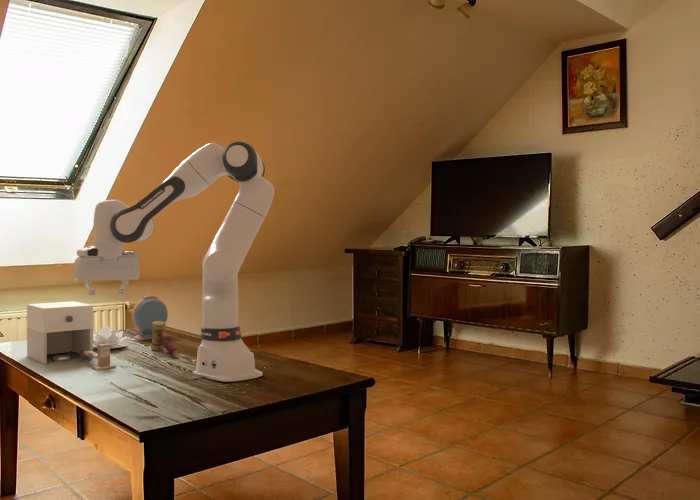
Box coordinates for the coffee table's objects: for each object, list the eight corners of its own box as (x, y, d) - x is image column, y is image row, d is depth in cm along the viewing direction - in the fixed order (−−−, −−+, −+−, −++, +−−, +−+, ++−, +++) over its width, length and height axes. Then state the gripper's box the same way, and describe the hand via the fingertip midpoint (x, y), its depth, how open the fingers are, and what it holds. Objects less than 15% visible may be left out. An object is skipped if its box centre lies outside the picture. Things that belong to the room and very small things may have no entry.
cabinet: (94, 358, 218) (94, 305, 218) (44, 364, 207) (44, 308, 207) (74, 350, 232) (74, 301, 232) (27, 356, 221) (26, 304, 221)
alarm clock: (161, 336, 268) (161, 294, 268) (171, 338, 261) (171, 295, 260) (128, 339, 259) (128, 295, 259) (137, 342, 252) (137, 297, 251)
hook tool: (115, 367, 202) (115, 344, 202) (96, 370, 198) (96, 346, 198) (93, 359, 216) (93, 337, 216) (75, 361, 212) (75, 339, 212)
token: (71, 360, 216) (71, 356, 216) (55, 362, 213) (55, 358, 212) (66, 358, 220) (66, 354, 220) (51, 359, 216) (51, 356, 216)
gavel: (182, 367, 221) (184, 340, 219) (169, 369, 219) (171, 342, 216) (161, 345, 238) (162, 320, 235) (148, 346, 235) (150, 321, 233)
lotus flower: (134, 346, 243) (133, 323, 243) (118, 353, 228) (118, 329, 228) (96, 346, 243) (96, 323, 243) (78, 353, 228) (78, 328, 228)
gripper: (135, 251, 211) (134, 292, 211) (71, 250, 198) (70, 294, 198) (143, 251, 207) (142, 294, 207) (78, 250, 193) (77, 296, 193)
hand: (106, 294), depth 202 cm, fingers open, 8 cm apart
